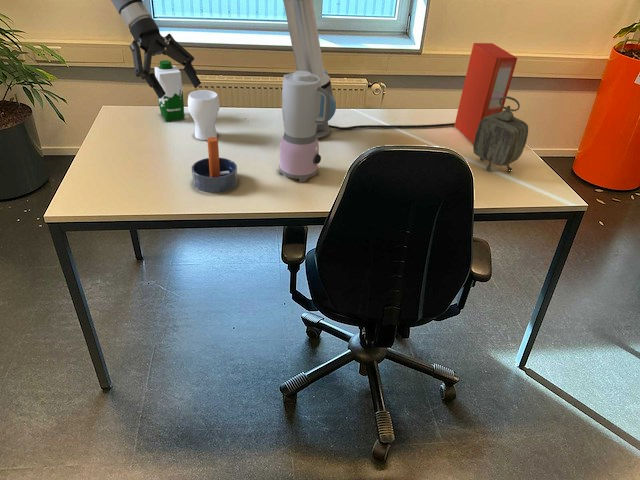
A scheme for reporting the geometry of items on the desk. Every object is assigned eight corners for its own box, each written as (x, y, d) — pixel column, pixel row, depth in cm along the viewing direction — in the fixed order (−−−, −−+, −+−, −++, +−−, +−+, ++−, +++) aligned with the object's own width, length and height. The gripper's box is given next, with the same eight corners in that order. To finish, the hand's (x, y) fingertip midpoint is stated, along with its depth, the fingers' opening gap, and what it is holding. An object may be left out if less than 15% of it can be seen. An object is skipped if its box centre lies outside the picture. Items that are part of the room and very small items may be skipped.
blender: (271, 174, 166) (271, 74, 147) (291, 160, 174) (294, 63, 156) (314, 189, 160) (320, 86, 141) (333, 173, 169) (341, 75, 150)
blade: (227, 176, 162) (225, 134, 154) (231, 183, 159) (229, 140, 151) (199, 180, 159) (195, 137, 151) (202, 187, 156) (198, 144, 148)
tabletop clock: (516, 172, 177) (538, 101, 162) (503, 181, 171) (524, 108, 157) (479, 157, 185) (497, 88, 170) (465, 164, 180) (482, 93, 165)
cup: (224, 131, 190) (222, 90, 181) (216, 143, 181) (214, 101, 173) (195, 128, 191) (192, 88, 182) (186, 140, 182) (182, 98, 173)
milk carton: (181, 111, 203) (175, 59, 191) (187, 120, 196) (182, 66, 185) (158, 114, 199) (151, 61, 188) (164, 123, 193) (157, 68, 181)
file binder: (472, 125, 208) (493, 43, 189) (493, 144, 194) (517, 57, 176) (454, 126, 206) (472, 43, 188) (473, 145, 193) (495, 57, 174)
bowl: (242, 175, 164) (241, 159, 161) (230, 196, 153) (230, 180, 150) (201, 171, 165) (199, 155, 162) (187, 191, 154) (185, 175, 151)
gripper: (168, 25, 159) (205, 87, 162) (97, 38, 141) (140, 107, 144) (180, 10, 154) (218, 75, 156) (108, 22, 136) (152, 94, 139)
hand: (181, 90), depth 150 cm, fingers open, 13 cm apart
